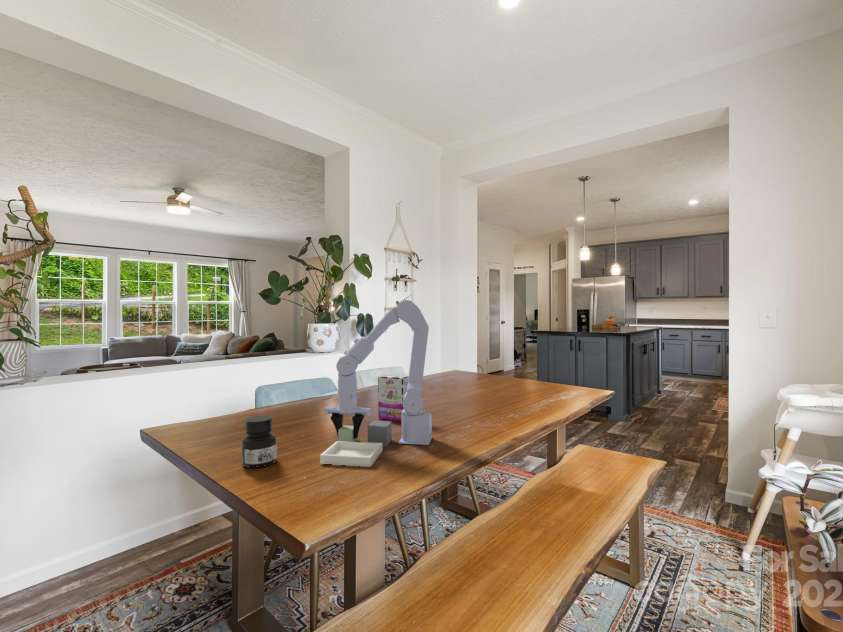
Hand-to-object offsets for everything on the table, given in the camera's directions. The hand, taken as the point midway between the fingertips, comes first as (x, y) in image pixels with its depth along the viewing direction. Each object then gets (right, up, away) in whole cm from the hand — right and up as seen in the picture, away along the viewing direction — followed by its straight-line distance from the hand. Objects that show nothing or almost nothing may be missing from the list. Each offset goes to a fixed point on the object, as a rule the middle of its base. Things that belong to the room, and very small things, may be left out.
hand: (348, 437), depth 129 cm
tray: (+4, -2, -14) cm, 14 cm away
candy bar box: (+13, -1, +26) cm, 29 cm away
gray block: (+10, -1, -1) cm, 10 cm away
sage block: (0, -1, 0) cm, 1 cm away
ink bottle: (-21, -2, -17) cm, 27 cm away
